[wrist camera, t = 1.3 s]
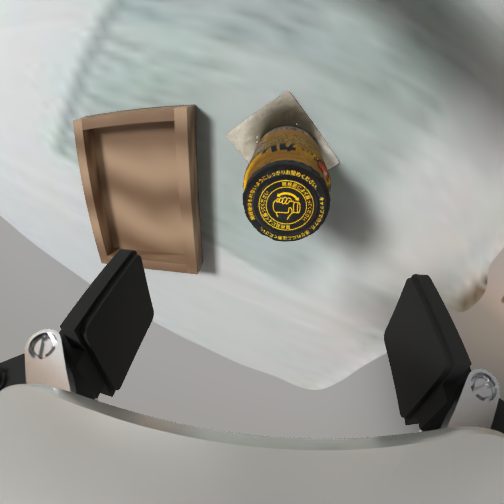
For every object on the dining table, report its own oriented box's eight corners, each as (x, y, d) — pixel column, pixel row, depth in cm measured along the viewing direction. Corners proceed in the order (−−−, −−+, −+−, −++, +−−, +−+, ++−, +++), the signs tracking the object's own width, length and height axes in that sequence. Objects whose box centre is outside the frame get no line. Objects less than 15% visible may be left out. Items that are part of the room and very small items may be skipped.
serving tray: (86, 116, 26) (73, 120, 24) (195, 104, 25) (186, 107, 23) (110, 252, 36) (101, 262, 34) (202, 261, 35) (197, 274, 33)
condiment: (278, 200, 30) (272, 271, 20) (226, 134, 26) (186, 172, 16) (339, 162, 27) (369, 216, 17) (288, 90, 23) (289, 95, 14)
